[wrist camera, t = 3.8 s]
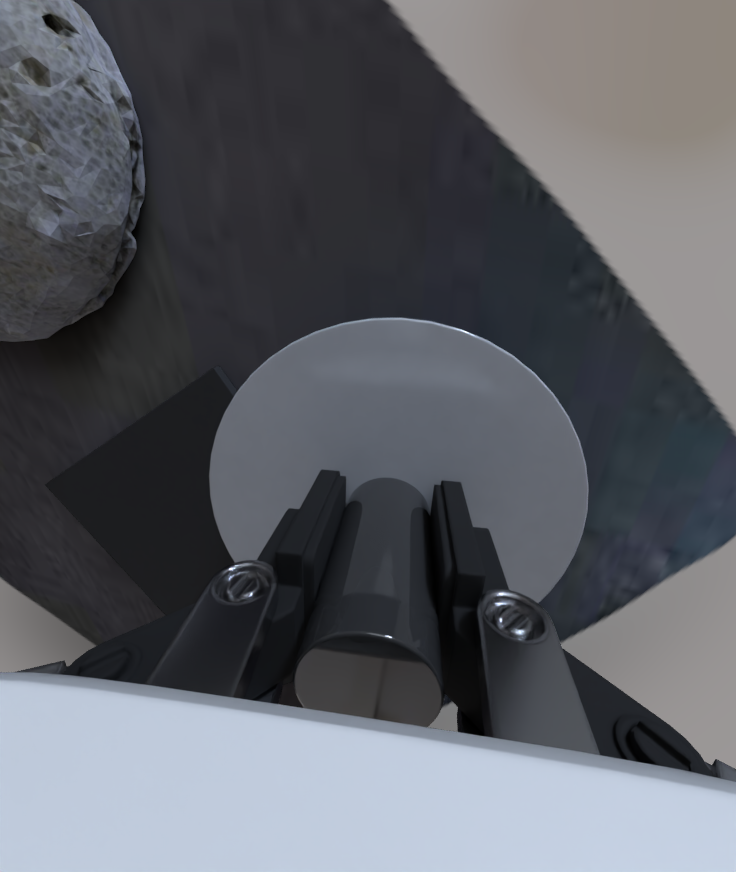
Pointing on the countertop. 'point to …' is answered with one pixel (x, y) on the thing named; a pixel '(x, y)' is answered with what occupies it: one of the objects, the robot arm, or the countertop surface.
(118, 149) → the stone
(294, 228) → the countertop surface
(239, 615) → the robot arm
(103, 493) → the mat
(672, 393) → the countertop surface
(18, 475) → the countertop surface
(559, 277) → the countertop surface
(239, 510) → the lid
